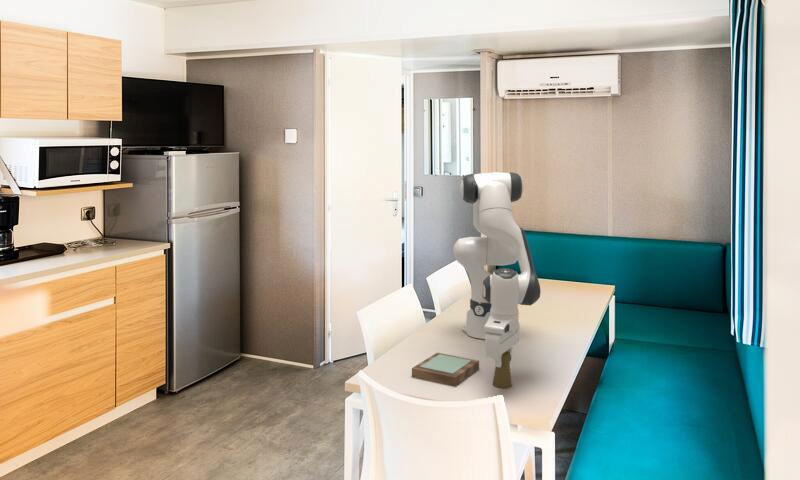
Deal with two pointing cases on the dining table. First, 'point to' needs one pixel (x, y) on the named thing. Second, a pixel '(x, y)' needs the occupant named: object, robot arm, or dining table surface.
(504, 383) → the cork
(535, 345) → the dining table surface
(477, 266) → the robot arm
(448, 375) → the wooden tray
